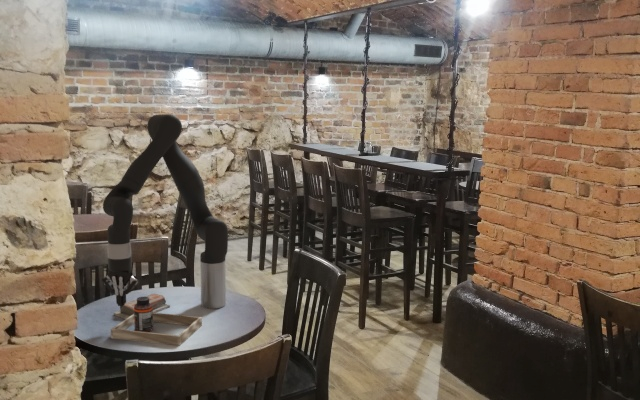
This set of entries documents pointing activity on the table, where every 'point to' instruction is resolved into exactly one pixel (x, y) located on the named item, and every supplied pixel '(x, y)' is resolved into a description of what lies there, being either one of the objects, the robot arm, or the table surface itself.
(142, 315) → the supplement bottle
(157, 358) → the table surface
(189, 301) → the table surface
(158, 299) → the packaged product
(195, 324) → the wooden frame
